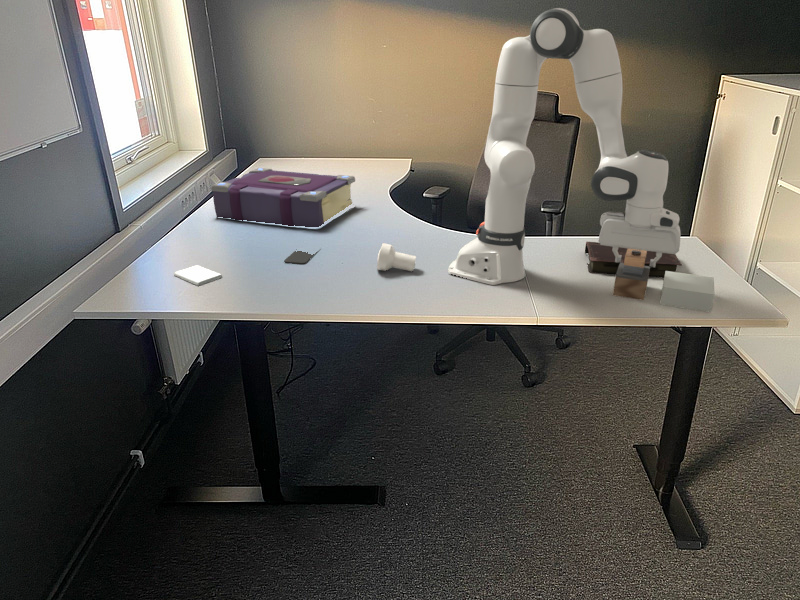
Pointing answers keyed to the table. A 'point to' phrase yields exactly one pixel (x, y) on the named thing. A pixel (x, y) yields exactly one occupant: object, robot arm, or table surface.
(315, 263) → the table surface
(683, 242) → the table surface
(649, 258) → the diary
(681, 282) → the grey stand
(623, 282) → the walnut stand
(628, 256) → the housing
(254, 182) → the book
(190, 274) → the external hard drive
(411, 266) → the spotlight
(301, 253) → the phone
